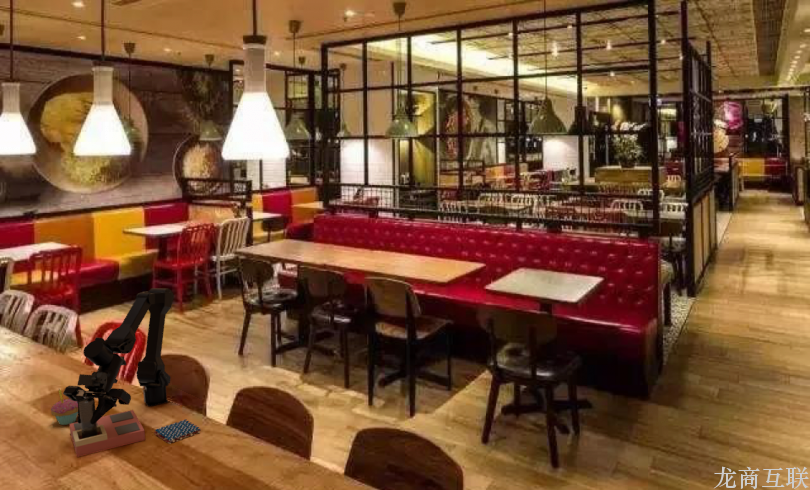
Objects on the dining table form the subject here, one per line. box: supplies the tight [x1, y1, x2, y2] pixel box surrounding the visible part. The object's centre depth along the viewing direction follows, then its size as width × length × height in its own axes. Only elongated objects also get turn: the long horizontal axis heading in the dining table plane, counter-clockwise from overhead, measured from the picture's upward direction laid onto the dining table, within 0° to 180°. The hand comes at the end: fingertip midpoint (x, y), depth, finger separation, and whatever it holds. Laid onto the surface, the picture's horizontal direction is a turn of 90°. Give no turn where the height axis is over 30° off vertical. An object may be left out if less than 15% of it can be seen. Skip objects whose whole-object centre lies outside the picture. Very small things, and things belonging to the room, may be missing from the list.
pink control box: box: [69, 409, 146, 458], centre depth 183 cm, size 18×18×4 cm
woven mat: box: [153, 419, 201, 445], centre depth 185 cm, size 10×11×2 cm
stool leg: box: [79, 398, 98, 439], centre depth 175 cm, size 4×4×13 cm
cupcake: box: [50, 388, 78, 426], centre depth 193 cm, size 9×8×12 cm
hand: (85, 423), depth 174 cm, fingers closed on stool leg, 4 cm apart
